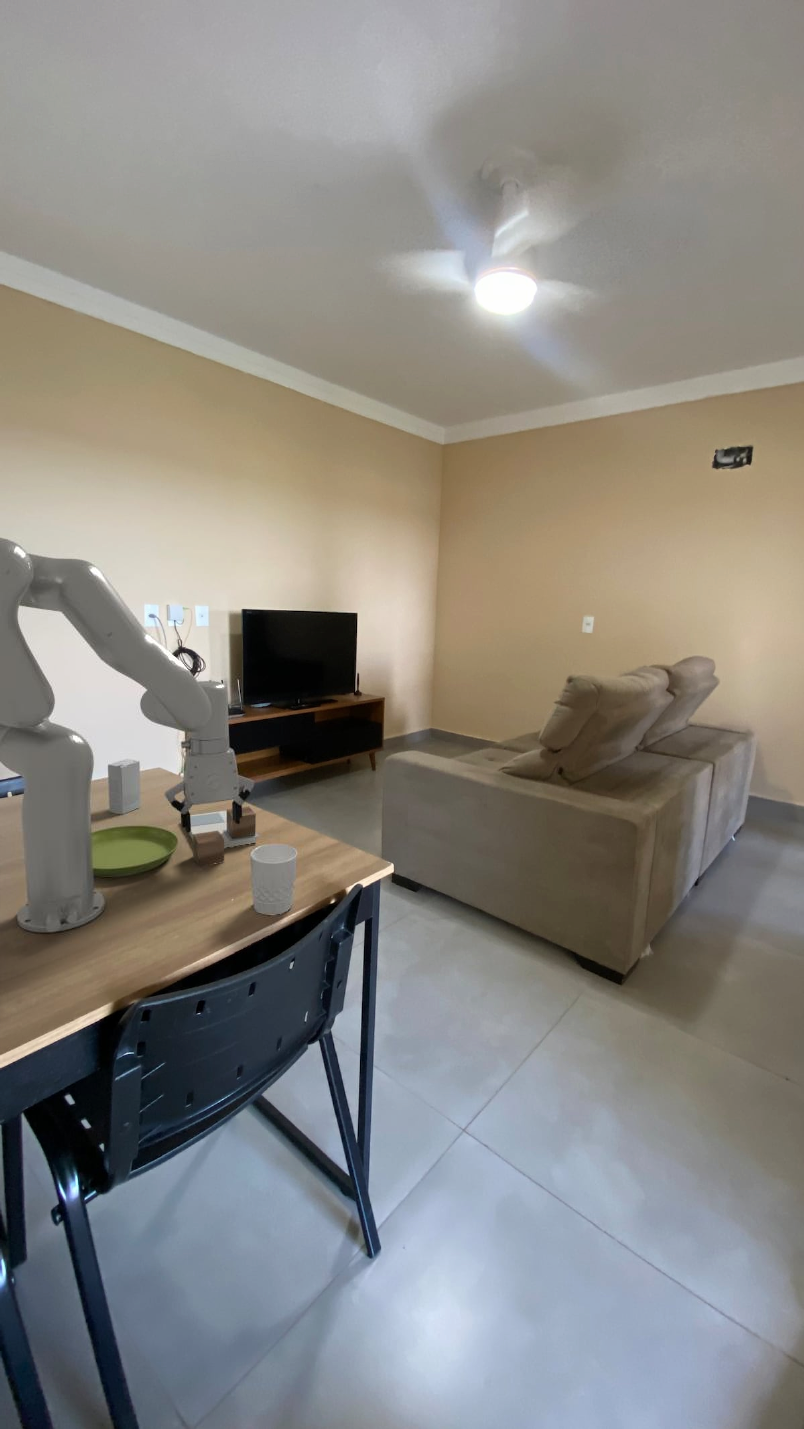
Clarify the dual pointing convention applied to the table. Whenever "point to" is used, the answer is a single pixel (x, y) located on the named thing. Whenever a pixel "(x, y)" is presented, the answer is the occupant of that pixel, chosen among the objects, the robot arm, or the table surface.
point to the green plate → (130, 849)
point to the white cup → (273, 878)
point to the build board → (217, 827)
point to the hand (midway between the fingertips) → (212, 825)
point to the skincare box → (124, 786)
